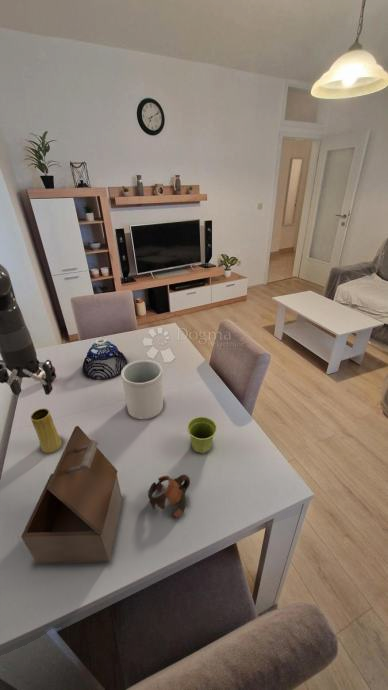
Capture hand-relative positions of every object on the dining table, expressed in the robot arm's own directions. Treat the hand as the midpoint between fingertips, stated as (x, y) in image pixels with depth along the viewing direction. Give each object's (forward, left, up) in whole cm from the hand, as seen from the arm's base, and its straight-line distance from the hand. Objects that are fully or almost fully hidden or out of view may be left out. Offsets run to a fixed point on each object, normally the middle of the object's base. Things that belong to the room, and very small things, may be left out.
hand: (33, 393), depth 78 cm
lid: (+21, -24, -4) cm, 32 cm away
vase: (-2, +2, -25) cm, 25 cm away
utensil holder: (+27, +20, -25) cm, 42 cm away
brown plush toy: (+39, -17, -25) cm, 49 cm away
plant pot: (+48, +1, -25) cm, 54 cm away
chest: (+17, -24, -24) cm, 38 cm away
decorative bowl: (+4, +48, -25) cm, 54 cm away
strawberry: (-18, +37, -25) cm, 48 cm away
